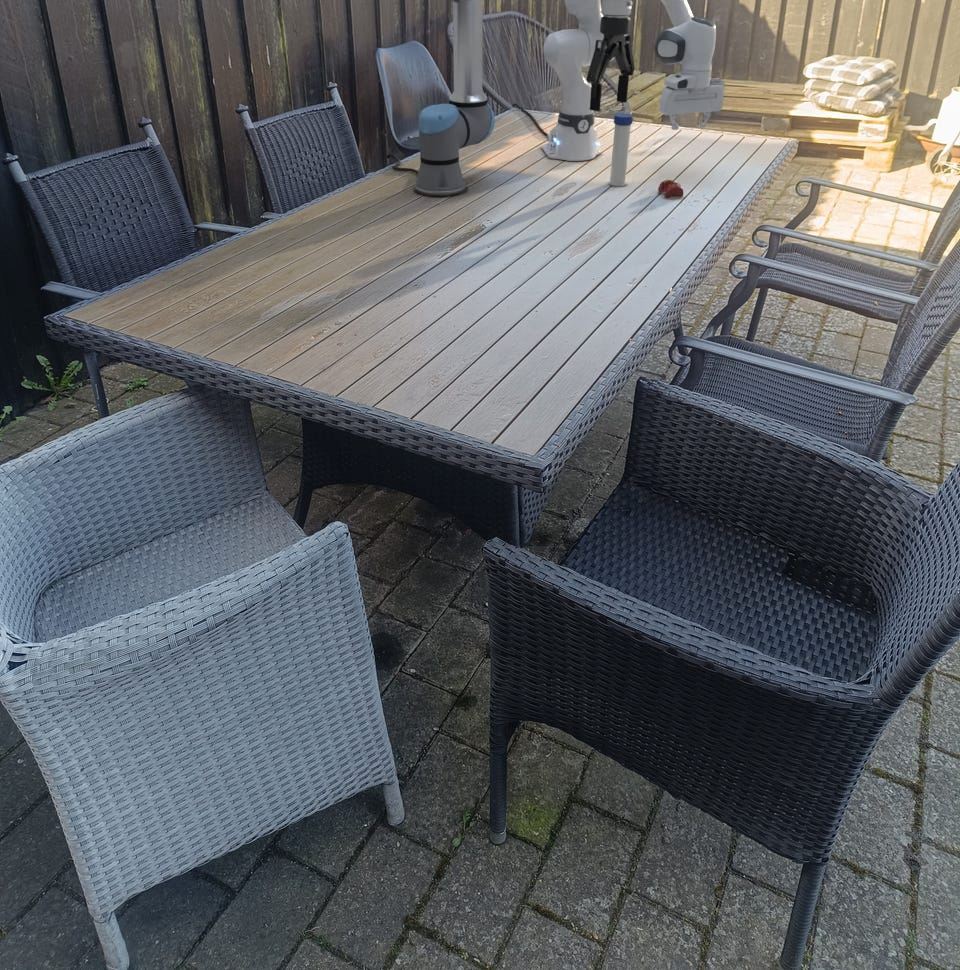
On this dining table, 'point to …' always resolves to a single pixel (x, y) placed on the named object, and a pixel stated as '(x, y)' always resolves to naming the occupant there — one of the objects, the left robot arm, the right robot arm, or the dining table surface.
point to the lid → (623, 119)
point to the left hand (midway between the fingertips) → (608, 106)
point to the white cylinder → (620, 155)
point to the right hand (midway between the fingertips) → (688, 128)
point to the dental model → (670, 189)
